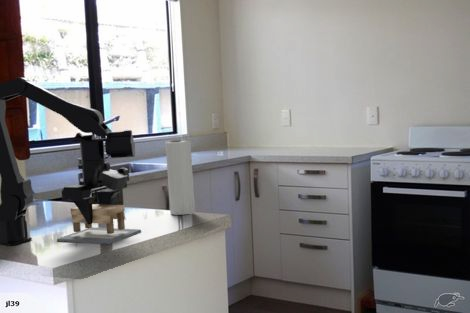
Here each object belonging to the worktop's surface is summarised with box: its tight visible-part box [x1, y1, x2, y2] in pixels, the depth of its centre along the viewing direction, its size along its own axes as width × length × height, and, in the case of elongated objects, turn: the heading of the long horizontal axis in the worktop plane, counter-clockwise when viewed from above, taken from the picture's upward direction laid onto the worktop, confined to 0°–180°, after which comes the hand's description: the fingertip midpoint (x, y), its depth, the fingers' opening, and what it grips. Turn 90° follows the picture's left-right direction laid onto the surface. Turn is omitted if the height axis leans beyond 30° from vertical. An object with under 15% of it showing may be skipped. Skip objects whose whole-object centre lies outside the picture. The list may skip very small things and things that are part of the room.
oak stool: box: [70, 204, 126, 234], centre depth 147 cm, size 12×6×6 cm, turn 64°
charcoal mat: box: [56, 226, 142, 245], centre depth 148 cm, size 13×16×1 cm
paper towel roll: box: [164, 140, 196, 216], centre depth 171 cm, size 7×6×21 cm
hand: (98, 221), depth 147 cm, fingers closed on oak stool, 6 cm apart
